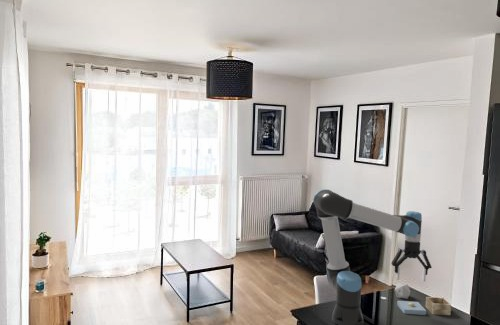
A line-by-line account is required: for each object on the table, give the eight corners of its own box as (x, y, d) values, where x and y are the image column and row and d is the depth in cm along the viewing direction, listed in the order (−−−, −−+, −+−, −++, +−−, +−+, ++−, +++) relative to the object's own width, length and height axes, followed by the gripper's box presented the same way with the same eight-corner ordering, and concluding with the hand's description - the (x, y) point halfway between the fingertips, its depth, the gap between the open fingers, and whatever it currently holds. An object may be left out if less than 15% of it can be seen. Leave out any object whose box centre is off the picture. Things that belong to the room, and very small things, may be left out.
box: (432, 315, 190) (433, 303, 189) (425, 307, 199) (426, 296, 198) (450, 316, 189) (451, 304, 189) (442, 308, 198) (443, 297, 198)
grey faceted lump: (390, 295, 215) (391, 286, 210) (400, 286, 219) (401, 276, 213) (403, 305, 209) (404, 295, 203) (413, 296, 212) (414, 286, 207)
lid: (404, 315, 189) (404, 307, 189) (397, 306, 200) (397, 298, 200) (425, 316, 188) (426, 308, 188) (417, 307, 199) (417, 300, 199)
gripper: (390, 240, 191) (388, 280, 192) (439, 243, 189) (437, 283, 190) (386, 237, 199) (384, 275, 200) (433, 240, 197) (431, 278, 198)
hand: (410, 279), depth 195 cm, fingers open, 13 cm apart
